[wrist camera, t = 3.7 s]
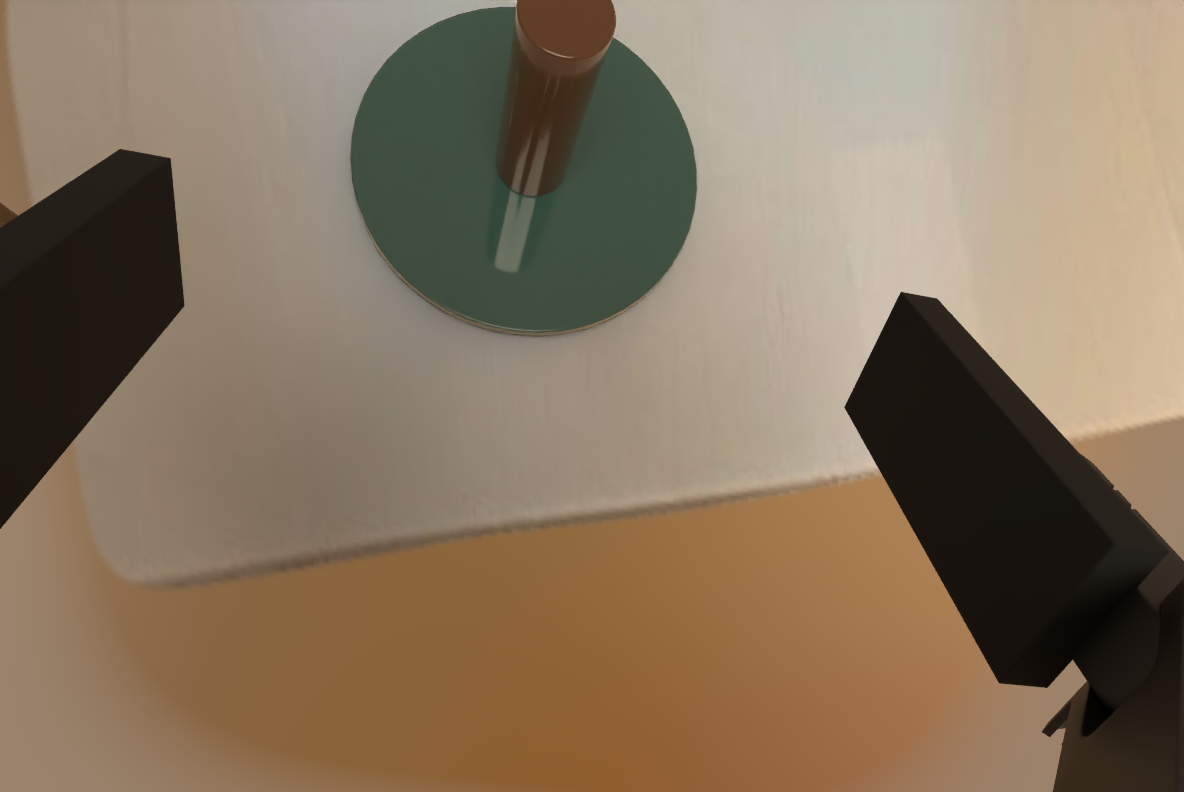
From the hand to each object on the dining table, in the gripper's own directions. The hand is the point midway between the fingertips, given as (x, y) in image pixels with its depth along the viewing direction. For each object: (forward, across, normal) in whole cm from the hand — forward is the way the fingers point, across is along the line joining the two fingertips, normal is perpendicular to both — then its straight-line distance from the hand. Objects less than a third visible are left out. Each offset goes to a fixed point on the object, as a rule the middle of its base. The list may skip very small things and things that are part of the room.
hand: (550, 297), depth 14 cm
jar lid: (+18, 0, -4) cm, 18 cm away
